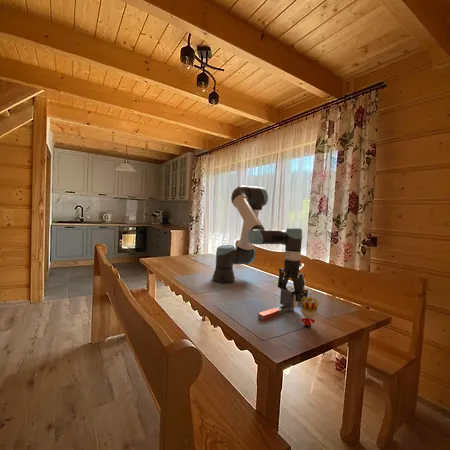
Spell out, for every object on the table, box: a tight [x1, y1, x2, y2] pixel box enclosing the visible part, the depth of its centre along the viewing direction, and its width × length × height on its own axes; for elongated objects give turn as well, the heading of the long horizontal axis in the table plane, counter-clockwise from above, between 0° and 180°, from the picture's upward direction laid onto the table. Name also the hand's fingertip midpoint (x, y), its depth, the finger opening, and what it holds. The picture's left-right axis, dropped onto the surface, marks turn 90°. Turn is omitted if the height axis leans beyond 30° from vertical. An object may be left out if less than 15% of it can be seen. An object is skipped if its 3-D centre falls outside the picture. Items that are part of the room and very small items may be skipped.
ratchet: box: [257, 305, 295, 322], centre depth 123 cm, size 23×5×8 cm, turn 130°
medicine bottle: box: [289, 277, 309, 303], centre depth 144 cm, size 7×7×12 cm
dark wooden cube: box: [279, 285, 300, 308], centre depth 128 cm, size 6×6×8 cm
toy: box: [299, 292, 320, 329], centre depth 111 cm, size 7×7×15 cm
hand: (289, 304), depth 129 cm, fingers closed on dark wooden cube, 6 cm apart
